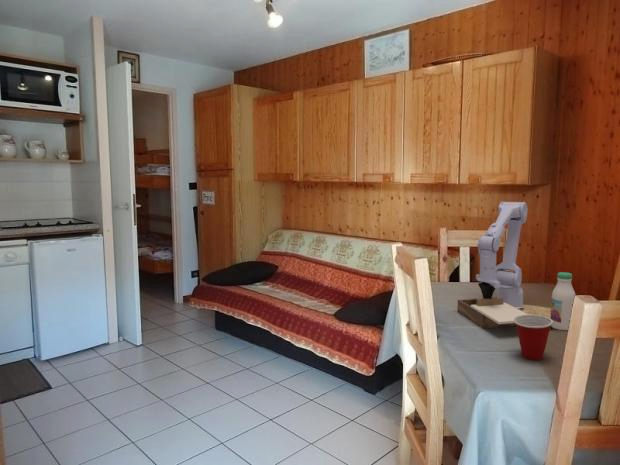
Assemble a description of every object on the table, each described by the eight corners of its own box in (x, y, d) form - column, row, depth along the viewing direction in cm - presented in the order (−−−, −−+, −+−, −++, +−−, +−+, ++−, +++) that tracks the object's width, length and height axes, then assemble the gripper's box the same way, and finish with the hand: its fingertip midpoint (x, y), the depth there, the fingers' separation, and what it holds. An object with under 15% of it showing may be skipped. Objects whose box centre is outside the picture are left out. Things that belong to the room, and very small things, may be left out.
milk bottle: (572, 324, 164) (574, 271, 162) (576, 331, 157) (579, 276, 154) (548, 323, 167) (550, 270, 164) (552, 330, 159) (554, 275, 157)
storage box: (489, 309, 185) (489, 297, 184) (518, 325, 165) (518, 312, 164) (457, 311, 183) (457, 299, 182) (482, 328, 163) (482, 315, 163)
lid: (504, 304, 173) (504, 296, 173) (537, 321, 154) (537, 312, 153) (470, 307, 172) (470, 298, 171) (499, 324, 152) (499, 315, 151)
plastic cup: (505, 350, 143) (506, 314, 141) (537, 348, 144) (539, 312, 142) (524, 365, 132) (525, 326, 131) (559, 362, 133) (561, 323, 131)
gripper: (469, 264, 177) (468, 297, 179) (488, 271, 163) (487, 307, 165) (485, 263, 178) (485, 296, 180) (506, 270, 164) (505, 306, 166)
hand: (487, 301), depth 173 cm, fingers closed
